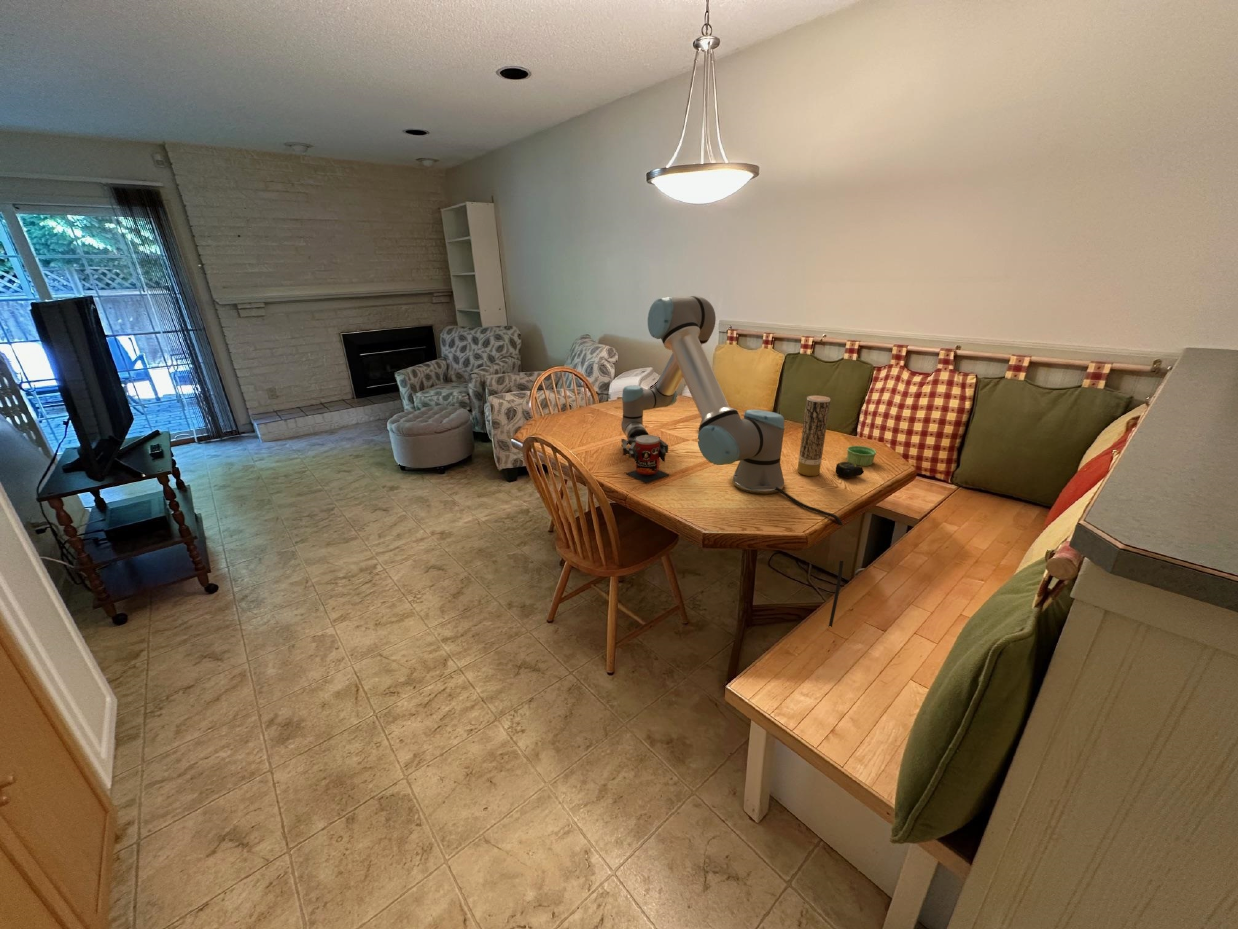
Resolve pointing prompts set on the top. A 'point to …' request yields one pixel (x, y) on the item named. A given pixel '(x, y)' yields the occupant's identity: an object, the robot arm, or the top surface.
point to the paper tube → (813, 435)
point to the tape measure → (848, 470)
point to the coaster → (647, 476)
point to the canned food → (647, 454)
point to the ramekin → (860, 455)
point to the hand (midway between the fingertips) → (650, 458)
